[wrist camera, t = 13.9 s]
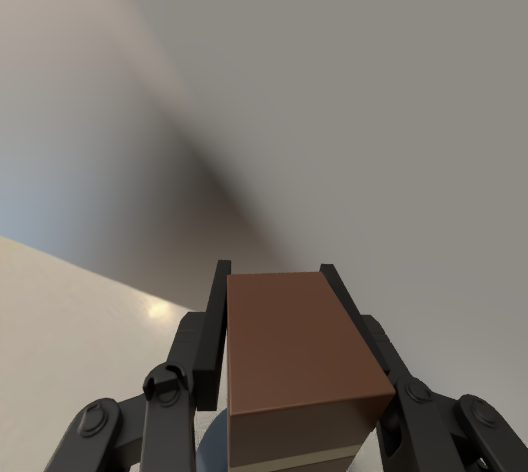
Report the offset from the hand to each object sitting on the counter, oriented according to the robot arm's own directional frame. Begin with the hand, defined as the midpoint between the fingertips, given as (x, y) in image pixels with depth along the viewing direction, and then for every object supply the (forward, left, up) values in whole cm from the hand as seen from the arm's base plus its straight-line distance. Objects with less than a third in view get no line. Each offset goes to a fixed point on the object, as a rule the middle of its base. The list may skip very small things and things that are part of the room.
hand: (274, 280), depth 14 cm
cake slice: (+1, +5, -6) cm, 8 cm away
